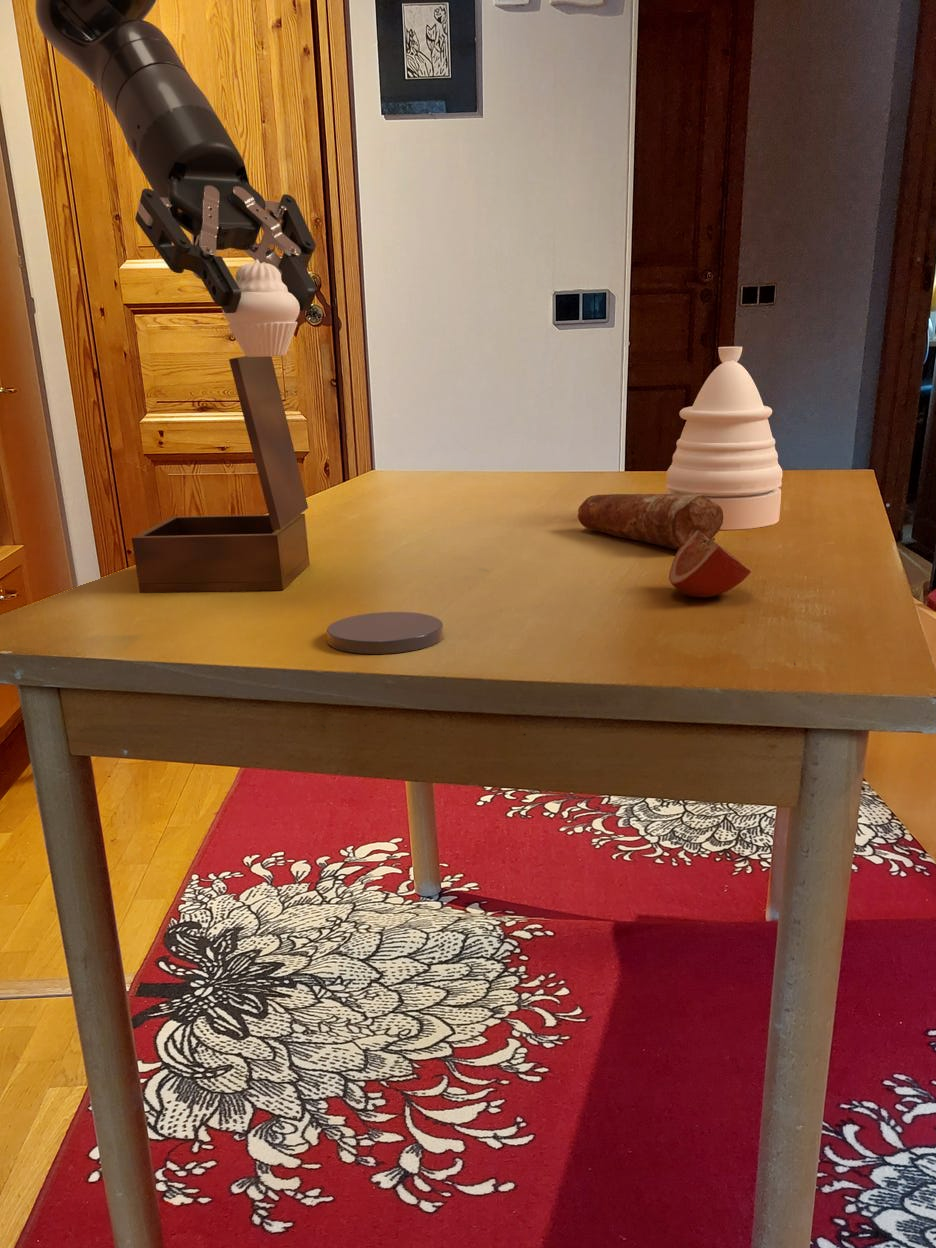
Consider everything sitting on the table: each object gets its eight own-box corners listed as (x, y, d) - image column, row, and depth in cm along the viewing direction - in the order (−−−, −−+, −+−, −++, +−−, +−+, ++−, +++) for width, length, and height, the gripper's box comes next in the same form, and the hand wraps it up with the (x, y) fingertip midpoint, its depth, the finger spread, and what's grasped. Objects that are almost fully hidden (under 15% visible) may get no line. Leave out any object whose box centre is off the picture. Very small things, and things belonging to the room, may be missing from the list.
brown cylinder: (678, 557, 115) (680, 499, 113) (568, 531, 130) (568, 479, 127) (727, 549, 118) (730, 492, 115) (614, 524, 133) (614, 473, 130)
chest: (139, 592, 109) (131, 537, 107) (178, 566, 119) (171, 516, 117) (283, 590, 108) (277, 535, 105) (309, 564, 118) (305, 513, 116)
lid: (228, 359, 99) (237, 357, 99) (262, 353, 110) (270, 351, 110) (272, 530, 105) (281, 529, 105) (300, 509, 116) (308, 508, 116)
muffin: (319, 354, 95) (312, 257, 92) (263, 358, 91) (254, 257, 88) (267, 353, 98) (258, 260, 95) (211, 357, 94) (200, 260, 91)
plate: (316, 655, 87) (315, 641, 87) (339, 624, 95) (338, 612, 95) (436, 653, 87) (435, 640, 86) (449, 623, 95) (448, 610, 94)
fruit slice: (660, 586, 104) (662, 528, 102) (735, 583, 104) (738, 525, 102) (677, 608, 97) (680, 547, 94) (758, 605, 97) (763, 543, 95)
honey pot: (665, 510, 140) (671, 347, 132) (775, 509, 138) (787, 343, 130) (663, 529, 129) (669, 352, 121) (783, 529, 127) (797, 348, 119)
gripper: (105, 94, 88) (203, 265, 85) (270, 109, 96) (364, 264, 93) (87, 182, 94) (178, 344, 91) (244, 188, 102) (332, 337, 99)
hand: (272, 303), depth 92 cm, fingers closed on muffin, 6 cm apart
